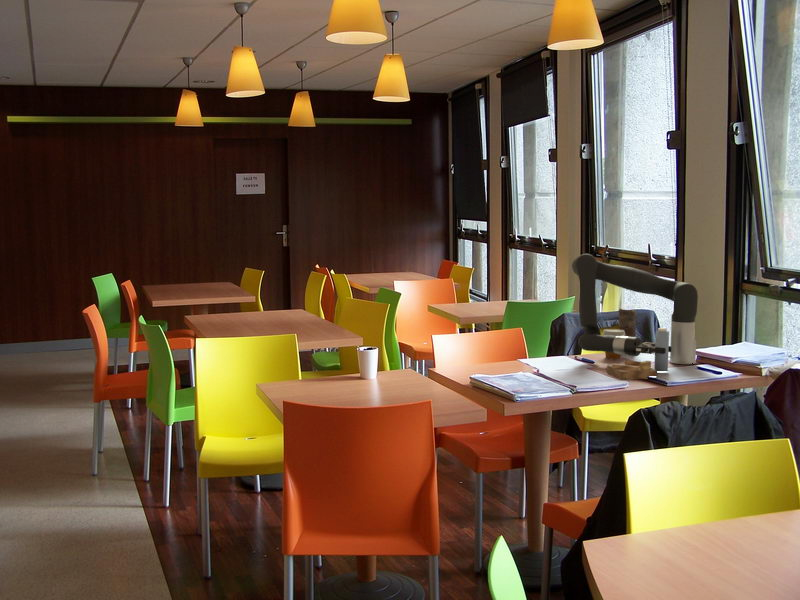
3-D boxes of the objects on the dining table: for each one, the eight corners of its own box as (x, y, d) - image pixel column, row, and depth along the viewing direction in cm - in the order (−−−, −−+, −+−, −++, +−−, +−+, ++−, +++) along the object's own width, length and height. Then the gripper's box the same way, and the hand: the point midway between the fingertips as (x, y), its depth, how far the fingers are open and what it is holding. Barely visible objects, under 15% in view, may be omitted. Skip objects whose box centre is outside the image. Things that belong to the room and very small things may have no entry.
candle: (614, 353, 369) (615, 308, 367) (627, 352, 372) (629, 307, 370) (625, 355, 362) (626, 310, 360) (638, 354, 365) (640, 309, 363)
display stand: (642, 371, 325) (643, 356, 324) (659, 379, 310) (660, 363, 309) (604, 372, 323) (605, 357, 322) (619, 379, 308) (620, 363, 307)
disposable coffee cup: (622, 356, 360) (623, 329, 359) (626, 360, 351) (627, 332, 350) (600, 356, 361) (601, 328, 360) (603, 359, 352) (604, 331, 351)
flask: (664, 371, 326) (665, 327, 324) (669, 373, 321) (671, 329, 319) (652, 371, 325) (653, 327, 324) (657, 373, 320) (659, 329, 319)
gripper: (619, 338, 326) (660, 342, 315) (635, 334, 337) (676, 338, 325) (618, 357, 327) (660, 362, 315) (634, 352, 337) (675, 357, 326)
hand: (668, 350), depth 321 cm, fingers closed on flask, 5 cm apart
